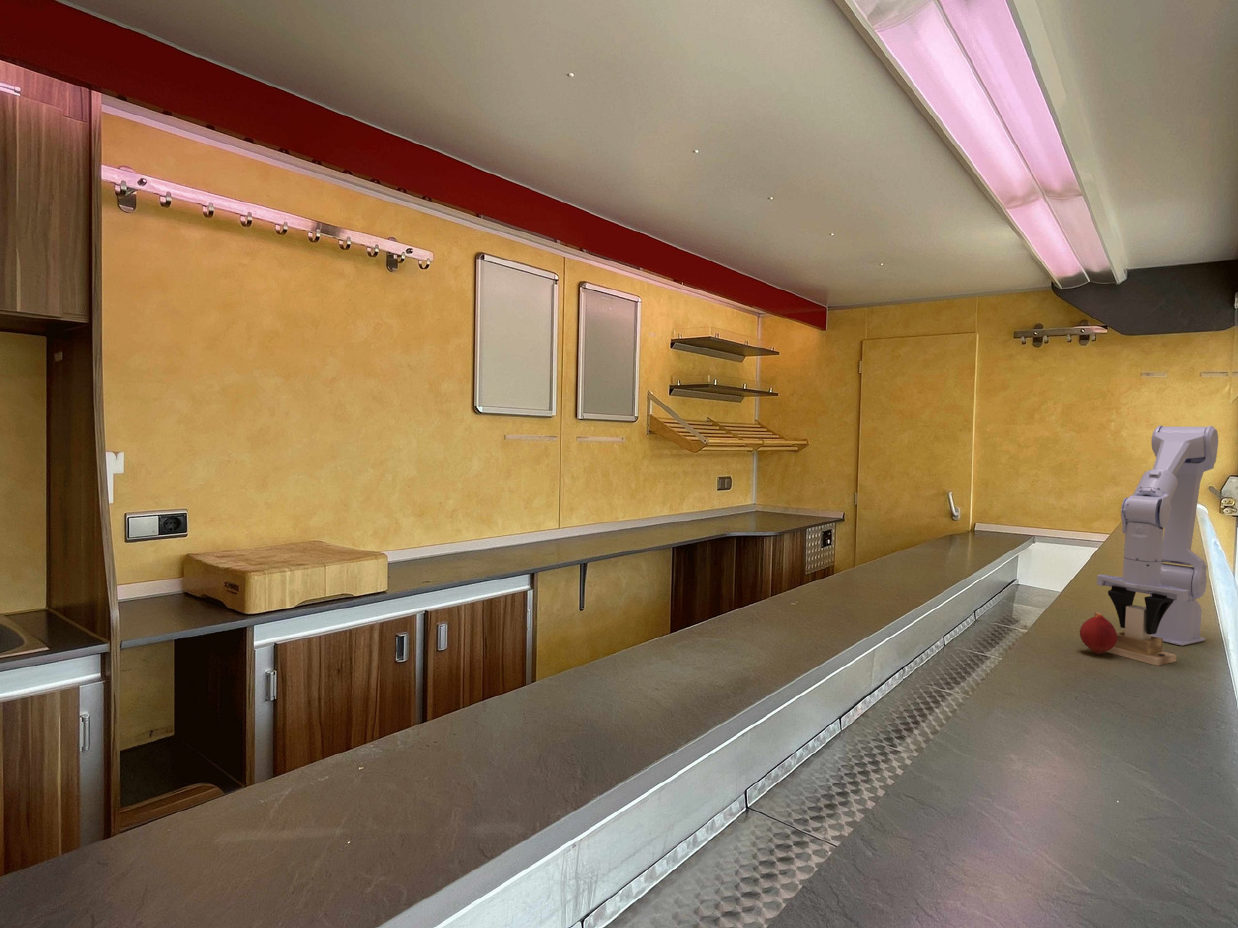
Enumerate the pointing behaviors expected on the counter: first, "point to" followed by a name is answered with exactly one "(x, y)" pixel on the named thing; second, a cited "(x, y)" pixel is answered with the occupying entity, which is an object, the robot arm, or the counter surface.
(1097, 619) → the onion
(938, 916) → the counter surface
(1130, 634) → the post
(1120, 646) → the bracket
